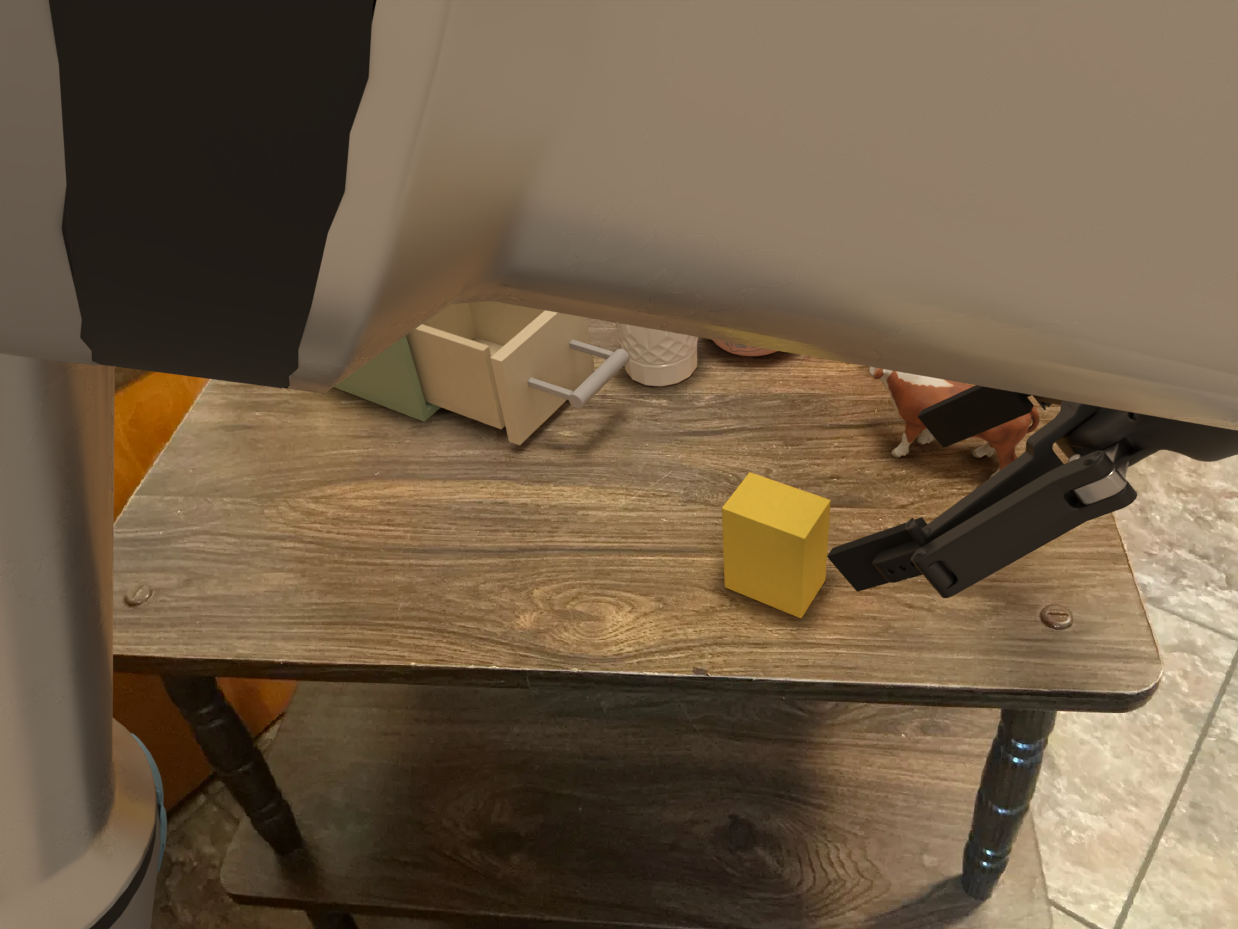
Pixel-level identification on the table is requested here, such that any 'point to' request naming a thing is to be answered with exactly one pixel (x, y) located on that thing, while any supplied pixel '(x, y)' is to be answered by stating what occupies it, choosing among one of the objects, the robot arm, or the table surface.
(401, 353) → the cabinet
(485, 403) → the drawer
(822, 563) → the sponge
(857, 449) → the table surface
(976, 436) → the bull figurine
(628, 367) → the white cup
